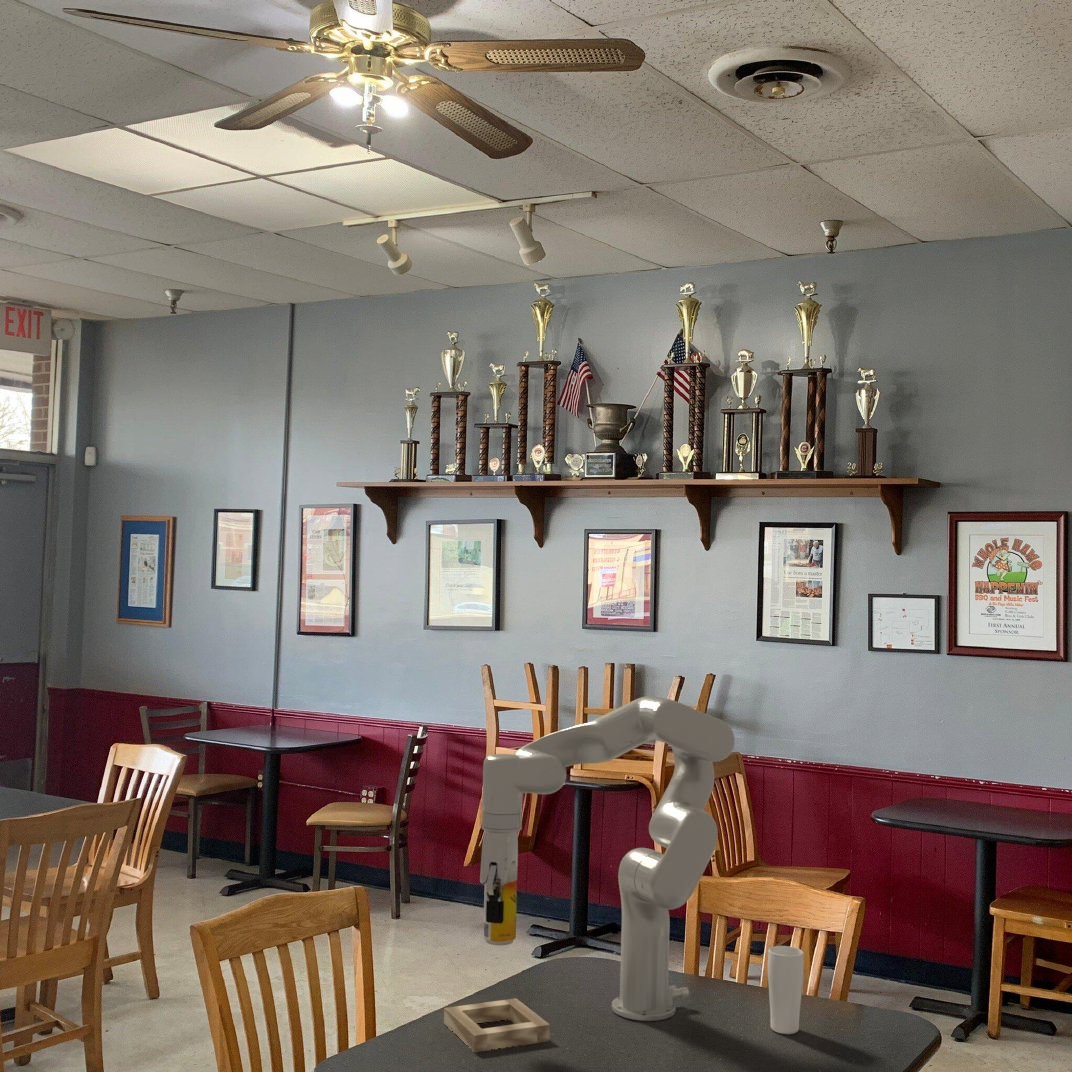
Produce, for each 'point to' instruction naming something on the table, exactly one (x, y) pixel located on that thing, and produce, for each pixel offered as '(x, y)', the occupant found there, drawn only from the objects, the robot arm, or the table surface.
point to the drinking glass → (785, 987)
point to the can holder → (520, 1033)
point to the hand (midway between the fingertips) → (499, 916)
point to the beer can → (507, 929)
